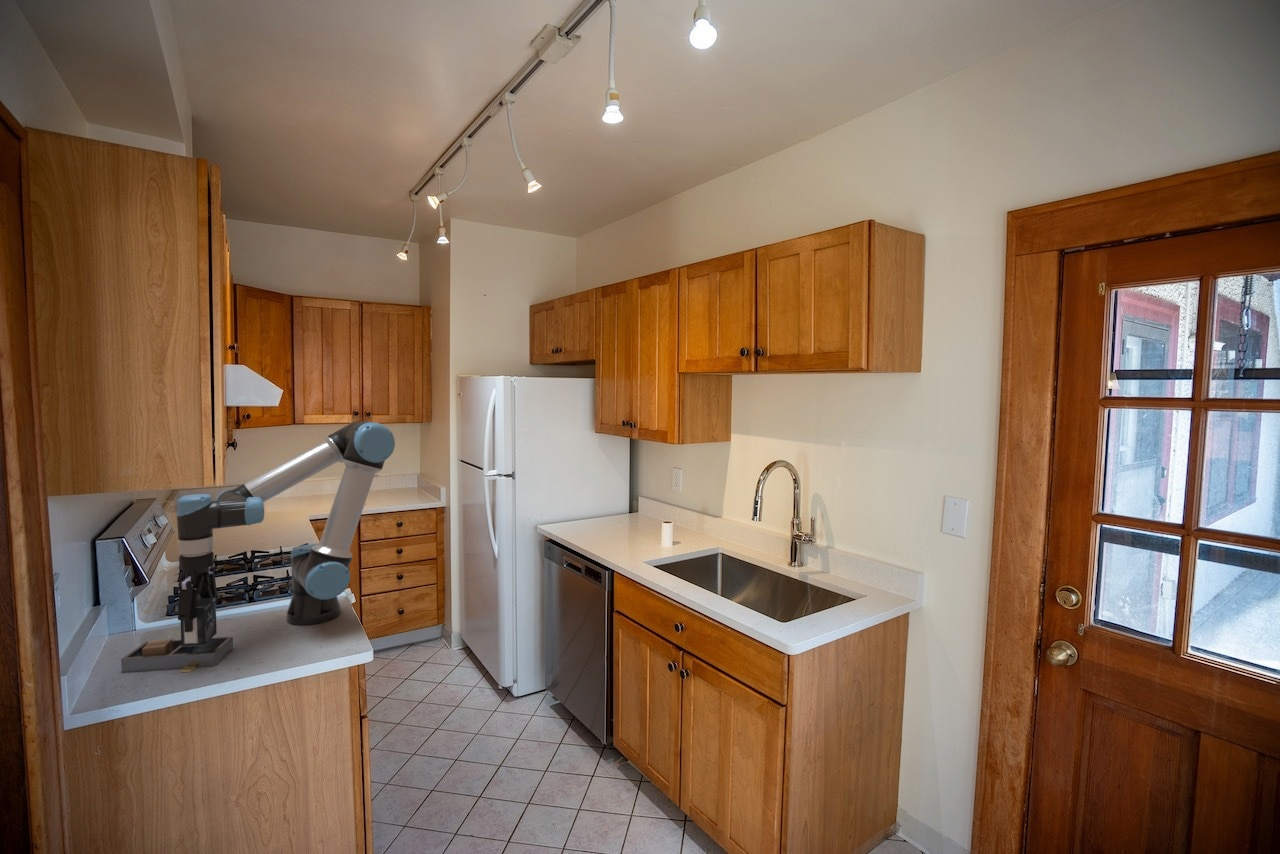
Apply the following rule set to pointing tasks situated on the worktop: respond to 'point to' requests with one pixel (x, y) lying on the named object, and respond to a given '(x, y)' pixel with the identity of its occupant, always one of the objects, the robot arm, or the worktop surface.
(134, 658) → the tray
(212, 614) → the box
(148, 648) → the nut block
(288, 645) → the worktop surface
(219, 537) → the worktop surface
